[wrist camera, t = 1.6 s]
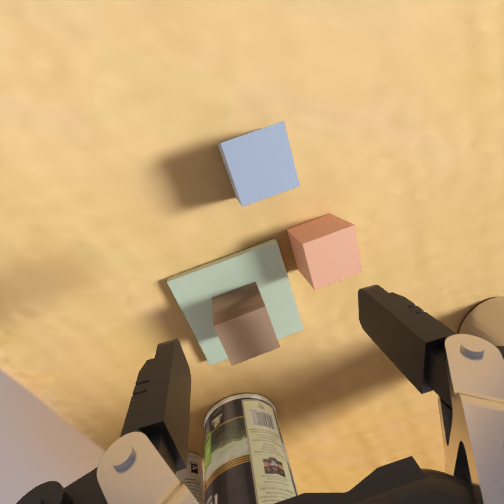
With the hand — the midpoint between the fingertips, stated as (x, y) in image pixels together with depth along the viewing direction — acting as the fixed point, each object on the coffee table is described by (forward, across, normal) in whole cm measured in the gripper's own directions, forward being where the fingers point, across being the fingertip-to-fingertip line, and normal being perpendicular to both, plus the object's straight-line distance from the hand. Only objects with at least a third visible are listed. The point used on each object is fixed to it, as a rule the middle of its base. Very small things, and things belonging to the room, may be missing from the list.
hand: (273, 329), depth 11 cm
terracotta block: (+17, -8, +4) cm, 19 cm away
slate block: (+17, -3, -6) cm, 18 cm away
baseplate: (+17, +1, +9) cm, 19 cm away
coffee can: (+17, +5, +28) cm, 33 cm away
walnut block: (+16, +1, +9) cm, 18 cm away
